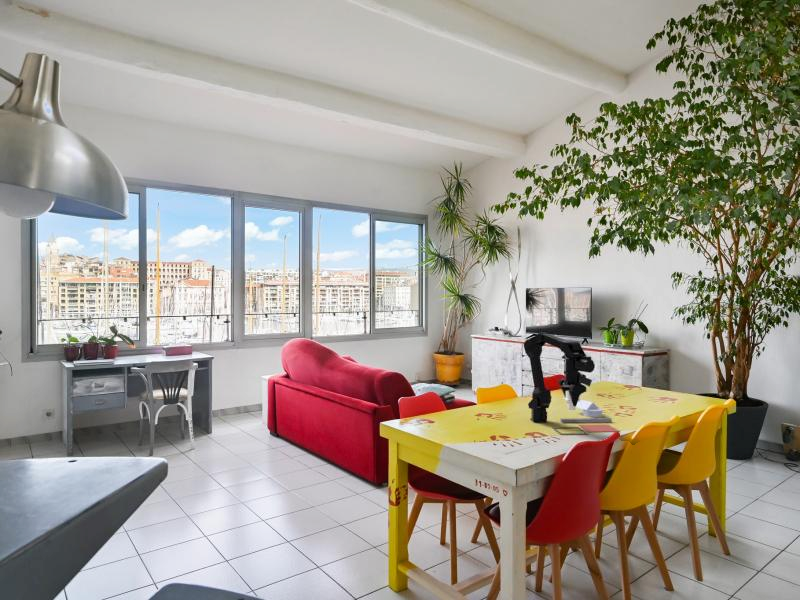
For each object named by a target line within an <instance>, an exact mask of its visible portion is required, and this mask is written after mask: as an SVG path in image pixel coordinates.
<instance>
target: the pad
mask: <svg viewBox="0 0 800 600" xmlns="http://www.w3.org/2000/svg"><path fill="white" fill-rule="evenodd" d="M578 427H579V428H581V429H582V430H584V431H587V433H620V432H621V430H618V429H617V428H615V427H614V426H612V425H610V424H607V423H605V424H578Z"/></svg>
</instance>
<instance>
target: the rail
mask: <svg viewBox="0 0 800 600" xmlns="http://www.w3.org/2000/svg"><path fill="white" fill-rule="evenodd" d="M560 422H561V423H562V424H580V423H581V424H584V423H585V424H587V423H589V424H590V423H592V424H595V423H596V424H597V423H600V424H601V423H605V424H607V423H612V418H610V417H599V418H592V417H587V418H586V417H585V418H582V417H581V418H560Z"/></svg>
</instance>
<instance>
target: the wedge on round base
mask: <svg viewBox="0 0 800 600" xmlns="http://www.w3.org/2000/svg"><path fill="white" fill-rule="evenodd" d="M576 408H577V409H581V410H582V414H583V416H585V418H586V417H587V418H603V409H602V408H600V407H599V406H597V405H596V404H595V403H594V402H593V401H589V400H584V399H580V401H579V402H577V405H576V407H575V409H576Z"/></svg>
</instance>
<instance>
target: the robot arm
mask: <svg viewBox="0 0 800 600" xmlns="http://www.w3.org/2000/svg"><path fill="white" fill-rule="evenodd" d="M546 344H548V345H550V346H553V347H555V348H557V349H559V350H560V351H561V352H562V353H563V354H564V355H562V356H561V359H563V360H565V363H564V364H565V367H564V371H563V374H564V378H560V379H558V381H557V383H558V384H557V385H558V386H559V388H560V389H561V392H562V393H563V396H564V398H565V397H566V391H567V390H570V391H569V394H570V397H571V400H572V403H573V406H576V405H577V402H578V399H580V396H581V395H582V394H584V393H586V392H587V387H591V384H592V382H593V379H591V378H588V377H587V375H586V374H583V373H581V372H584V373H589V374H590V373H593V372H594V370H595V368H596V367H595V366H596V364H595V362H594V360H593V359H592V356H587V355H586V352H585V350H584V349H583V347H582V345H581V343H580V341H577V340H570V339H569V340H567V339H563V338H560V337H558V336H555V335H553V334H550V333H548V332H538V333H537V334H536V335H534V336H533V337H530V338H529V339H526V340H525V341H524V343H523V349H524V352H525V354H526V356H527V357H528V358H529V362H530V369H531V375H532V380H533V381H532V382H533V387H534V389H533V391H532V393H531V394H532V399H531V400H530V401H529V402H528V404H527V405H528V409H531V417H530V421H532V422H533V423H548V411H547V409H549V408H550V405H551V403H552V399H553V397H552V395H551V389H547V388H546V385H545V379H544V373H543V367H542V361H541V356H542V353H543V347H544V346H545V345H546ZM566 402H567V401H566ZM567 404H568V402H567Z"/></svg>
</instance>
